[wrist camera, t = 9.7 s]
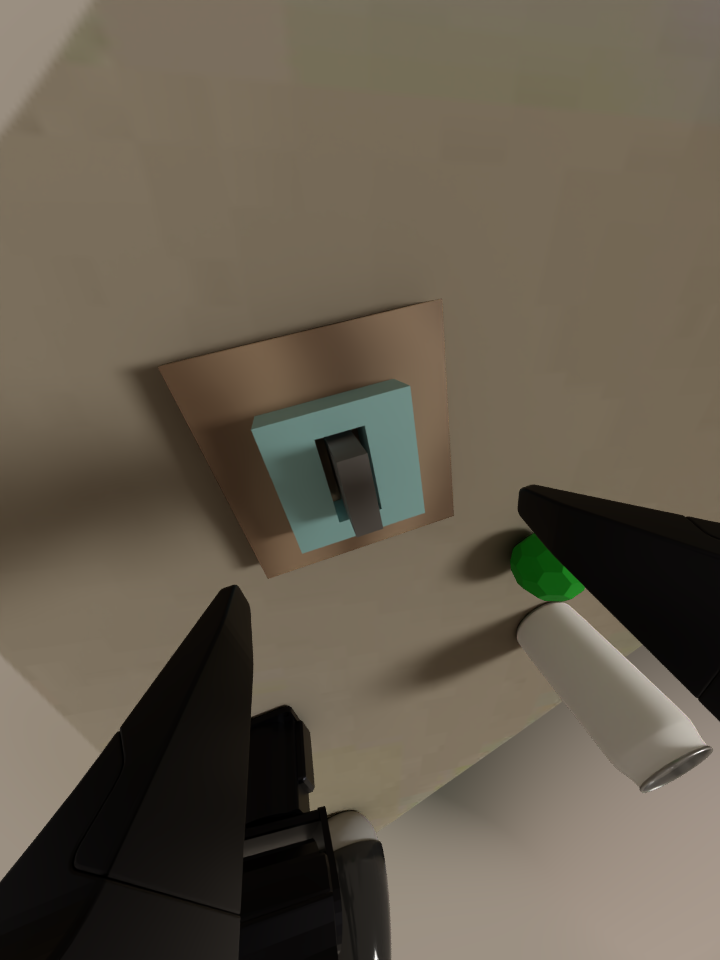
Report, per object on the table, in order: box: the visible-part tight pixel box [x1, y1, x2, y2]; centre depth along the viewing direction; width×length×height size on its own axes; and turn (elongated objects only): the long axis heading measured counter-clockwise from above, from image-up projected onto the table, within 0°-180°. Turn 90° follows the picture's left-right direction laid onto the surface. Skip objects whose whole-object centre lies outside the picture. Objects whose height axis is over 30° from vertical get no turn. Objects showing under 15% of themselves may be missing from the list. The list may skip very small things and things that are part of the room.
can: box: [517, 602, 713, 793], centre depth 25 cm, size 6×6×12 cm
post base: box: [158, 299, 454, 579], centre depth 14 cm, size 12×12×6 cm
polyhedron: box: [510, 533, 585, 602], centre depth 22 cm, size 5×5×5 cm
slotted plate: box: [251, 379, 425, 554], centre depth 14 cm, size 7×7×2 cm
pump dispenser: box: [328, 811, 391, 960], centre depth 35 cm, size 10×10×15 cm
